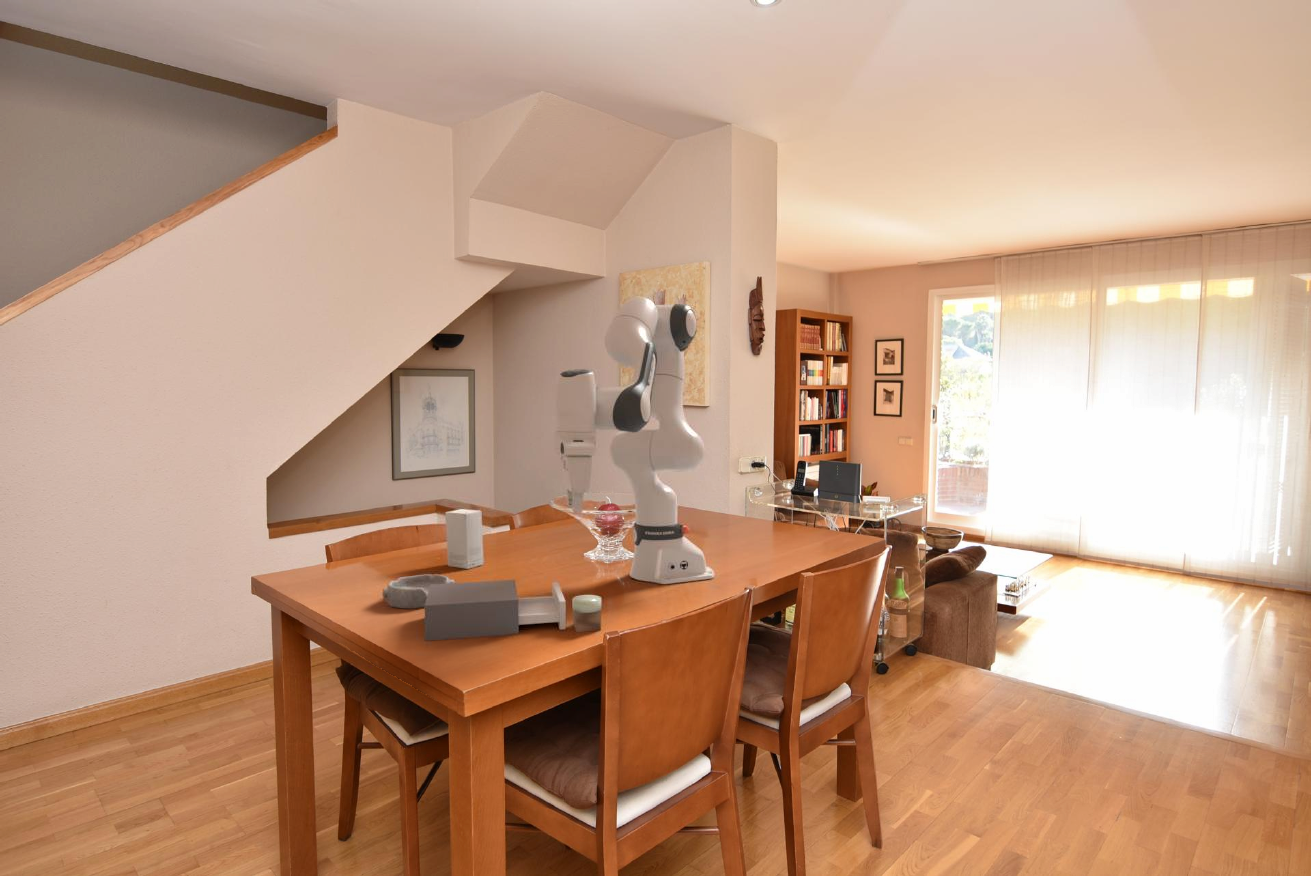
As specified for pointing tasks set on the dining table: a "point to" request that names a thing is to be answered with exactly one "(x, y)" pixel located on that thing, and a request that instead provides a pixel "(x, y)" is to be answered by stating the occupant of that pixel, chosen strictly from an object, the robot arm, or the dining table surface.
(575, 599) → the pale green disc
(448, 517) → the skincare box
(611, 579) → the dining table surface
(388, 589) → the dish
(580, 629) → the walnut block
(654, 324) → the robot arm
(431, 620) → the grey drawer cabinet
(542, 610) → the white drawer
